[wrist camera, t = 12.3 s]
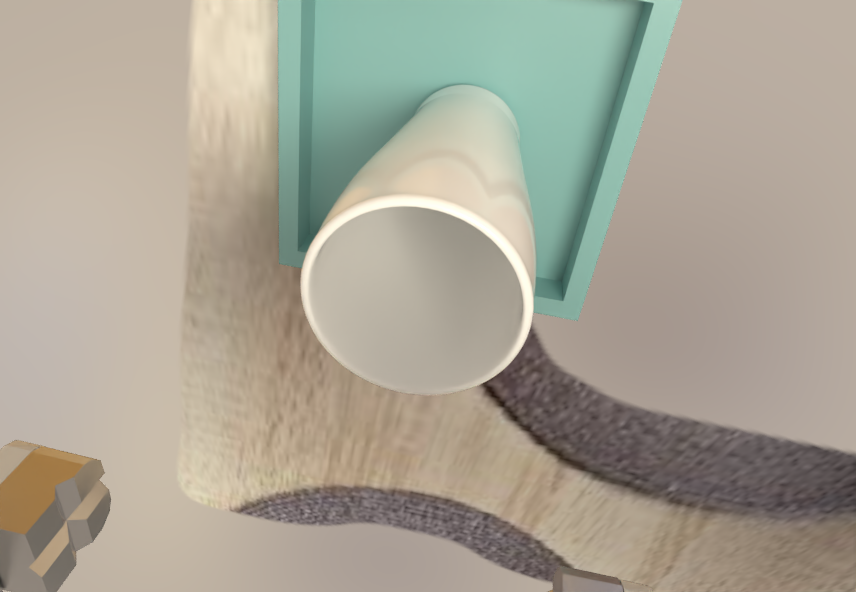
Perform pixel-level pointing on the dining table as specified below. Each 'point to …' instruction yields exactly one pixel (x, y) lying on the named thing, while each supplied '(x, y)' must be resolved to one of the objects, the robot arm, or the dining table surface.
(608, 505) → the dining table surface
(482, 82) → the tray
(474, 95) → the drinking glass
